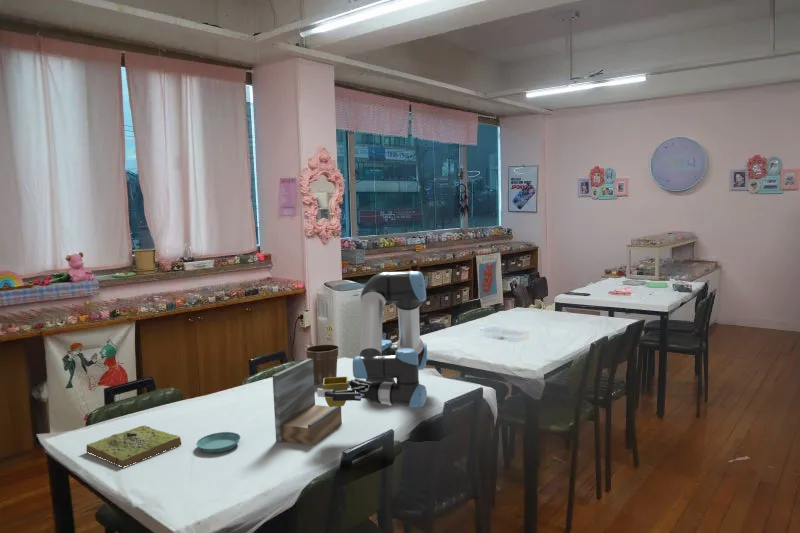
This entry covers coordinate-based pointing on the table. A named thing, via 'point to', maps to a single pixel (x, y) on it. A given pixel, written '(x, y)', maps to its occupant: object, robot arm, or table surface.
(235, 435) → the saucer
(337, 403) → the flower pot
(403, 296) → the robot arm
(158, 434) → the miniature landscape model
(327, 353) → the plant pot
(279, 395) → the book stand
